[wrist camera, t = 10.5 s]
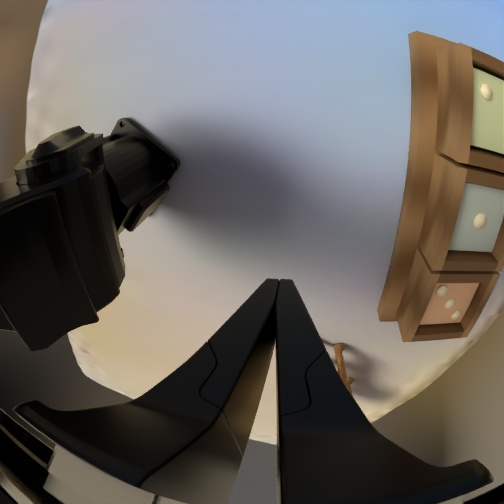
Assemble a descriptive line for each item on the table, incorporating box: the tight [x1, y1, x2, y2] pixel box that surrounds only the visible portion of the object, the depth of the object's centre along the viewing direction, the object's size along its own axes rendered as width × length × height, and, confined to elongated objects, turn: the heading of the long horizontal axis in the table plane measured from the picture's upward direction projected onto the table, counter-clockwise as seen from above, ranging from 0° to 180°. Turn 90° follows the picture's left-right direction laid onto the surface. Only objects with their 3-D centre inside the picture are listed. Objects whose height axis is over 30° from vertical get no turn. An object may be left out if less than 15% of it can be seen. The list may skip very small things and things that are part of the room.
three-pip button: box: [419, 283, 479, 325], centre depth 18 cm, size 5×5×2 cm
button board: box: [377, 31, 504, 342], centre depth 15 cm, size 24×10×5 cm, turn 4°
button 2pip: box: [471, 68, 504, 154], centre depth 10 cm, size 5×5×2 cm
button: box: [448, 182, 504, 252], centre depth 14 cm, size 5×5×2 cm
